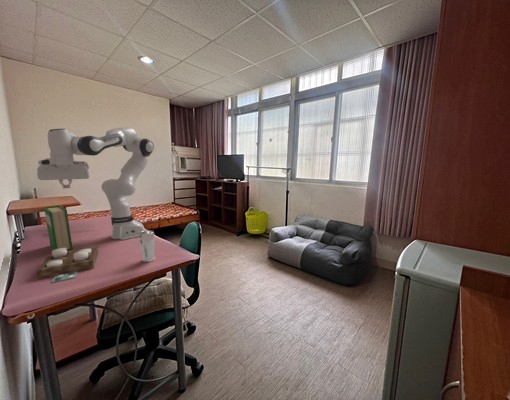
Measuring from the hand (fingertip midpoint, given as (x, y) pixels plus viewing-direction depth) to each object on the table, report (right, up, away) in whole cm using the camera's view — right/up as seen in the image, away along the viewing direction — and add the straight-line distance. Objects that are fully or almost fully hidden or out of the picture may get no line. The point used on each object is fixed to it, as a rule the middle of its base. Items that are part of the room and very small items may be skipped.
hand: (66, 188), depth 114 cm
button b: (0, -35, -3) cm, 35 cm away
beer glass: (+42, -38, +1) cm, 57 cm away
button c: (+13, -35, -7) cm, 38 cm away
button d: (+5, -39, -11) cm, 41 cm away
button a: (+8, -36, +2) cm, 37 cm away
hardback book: (-18, -35, +17) cm, 43 cm away
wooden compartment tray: (+7, -39, -5) cm, 39 cm away
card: (+14, -41, -16) cm, 46 cm away
